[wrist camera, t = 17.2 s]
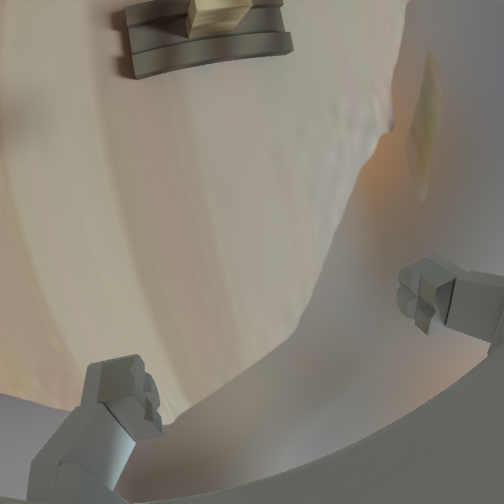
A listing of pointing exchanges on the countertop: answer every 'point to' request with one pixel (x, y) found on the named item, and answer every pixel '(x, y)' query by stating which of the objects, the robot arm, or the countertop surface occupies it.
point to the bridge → (200, 48)
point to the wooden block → (214, 16)
